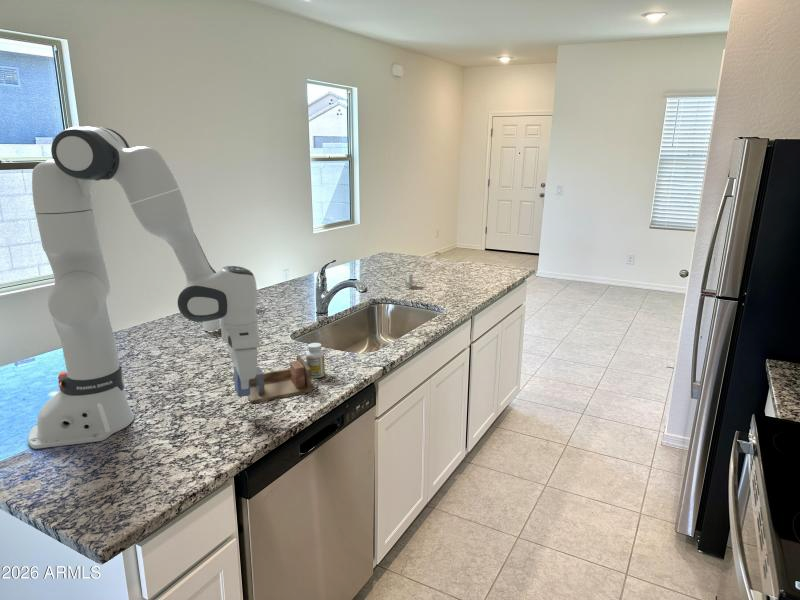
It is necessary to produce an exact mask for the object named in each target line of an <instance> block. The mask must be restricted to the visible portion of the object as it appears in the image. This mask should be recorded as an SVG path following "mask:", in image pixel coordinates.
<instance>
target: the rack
mask: <svg viewBox="0 0 800 600" xmlns="http://www.w3.org/2000/svg"><path fill="white" fill-rule="evenodd" d="M289 365H290V366H289V367H290V368H286V369H284V368H283V369H280V370H279V369H278V370H274V371H273V370H272V371H267V372H263V376H264V389H265V394H262V395H259V394H258V392H257V390H256V388H255V380H254V379H250V395H248V396H247V398H248V401H249V402H250V403H249V404H256V403H259V402H260V403H261V402H265V401H270V400H275V399H276V400H277V399H280V398H287V397H291V396H295V395H301V394H307V393H311V392H313V387H312V385H313V384H312V378H311V369H310V368H309V366H308V365H307V364H306V360H304V359H303V358H302V356H301V355H296V360H294V361H289Z"/></svg>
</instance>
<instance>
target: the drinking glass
mask: <svg viewBox="0 0 800 600" xmlns="http://www.w3.org/2000/svg"><path fill="white" fill-rule="evenodd" d="M202 326H203V331H204V330H205V331H215V330H218V329H220V330H221V319H216V320H211V321H205V322H202ZM205 331H204V332H205Z"/></svg>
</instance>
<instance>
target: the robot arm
mask: <svg viewBox="0 0 800 600" xmlns="http://www.w3.org/2000/svg"><path fill="white" fill-rule="evenodd" d="M128 143H129V142H127V140H126V139H125V138H124V137H123V136H122V135H121V134H120V133H118V132H117V131H115V130H113V129H111V128H107V127H101V126H97V125H85V126H71V127H68V128H65V129H63V130H62V131H60V132H59V133H57V135H56V136H55V138H54V139H53V140H52V143H51V148H50V150H51V151H50V152H51V157H52V159H51V158H50V159H46V160H43V161H42V162H39V163H38V164H36V165H35V166H34V168H33V169H32V172H31V179H32V180H31V185H32V187H31V190H32V201H33V206H34V212H35V218H36V223H37V226H38V231H39V236H40V241H41V246H42V249H43V252H45V255H46V257H47V261H48V263H49V264H50V268H51V271H52V274H53V277H54V284H53V286H52V287H51V289H50V291H49V293H48V297H47V307H48V311H49V314H50V315H51V317H52V321H53V325H54V328H55V330H56V333H57V336H58V338H59V341H60V345H61V348H62V352H63V357H64V364H65V369H66V371H60V372H59V373H58V376H57V379H58V389H59V391H58V392H57V393H56V394H54V396H53V397H51V398H50V399H49V400H48V401H46V402H45V403H44V404H43V406H42V407H41V408H40V410H39V412H38V416H37V422H36V424H35V425H33V427H31V429H30V431H29V433H28V437H27V438H28V440H27V441H28V442H27V443H28V445H29V446H30V447H31V448H32V449H35V450H36V449H44V448H45V449H46V448H52V447H62V446H68V445H69V446H70V445H77V444H78V445H80V444H87V443H95V442H96V443H97V442H101V441H105V440H106V439H108V438H109V437H111V435H113V434H115V433H117V432H119V431H121V430H124V429H125V428H127V427H128V426H129V425H130V424H131V423H132V422H133V421H134V419H135V414H134V412H133V411H132V409H131V406H130V404H129V402H128V401H129V400H128V399H127V396H126V393H125V378H124V371H123V369H122V366H121V365H120V364H119V363H120V362H119V356H118V350H117V343H116V336H115V334H114V332H113V328H112V323H111V321H110V316H109V311H108V298H109V296H110V293H111V286H110V280H109V275H108V271H107V267H106V263H105V260H104V256H103V253H102V249H101V246H100V241H99V236H98V230H97V225H96V219H95V213H94V207H93V202H92V198H91V186H92V185H93V183H94V182H95V181H96V182H97V181H101V180H103V181H104V180H105V181H106V180H107V181H109V180H114V181H115V182H117V183H118V184H119V185H120V186H121V188H122V189H123V192H124V193H125V196H126V198H127V199H128V202H129V204H130V207H131V209H132V211H133V213H134V215H135V217H136V219H137V220H138V222H139V223H140V225H141V226H142V227H143V228H144V230H145V231H146V232H148V233H150V234H151V235H154V236H155V237H158V238H160V239H162V240H163V241H165V242H166V243H167V244H168V245H169V246H170V248H171V249H172V250H173V253H174V254H175V256H176V258H177V260H178V263H179V264H180V266H181V268H182V270H183V272H184V275H185V277H186V285H185V286H184V288H183V289H182V291H180V293H179V295H178V298H177V307H178V311H179V313H181V315H182V316H183V317H184V318H185V319H187V320H189V321H190V322H193V323H194V322H195V323H203V322H205V321H211V320H216V319H220V330H221V331H220V332H221V340H222V341H223V342H225V343H226V344H227V350H228V355H229V357H230V360H231V361H232V364H233V367H235V368H236V370H237V373H238V375H239V377H240V380H241V381H240V386H241V389H248V387H249V379H254V378H255V377H256V373H257V367H258V348H260V345H261V344H260V336H259V316H258V314H257V307H258V288H257V281H256V278H255V277H256V276H255V275H254V273H253V272H252V271H251V270H249V269H247V268H245V267H243V266H235V265H226V266H223V267H222V268H221V269H220V270H218V271H215V269H214V268H213V267H212V266H211V264H210V263H209V261H208V258H207V256H206V254H205V253H204V250H203V248H202V246H201V244H200V242H199V240H198V238H197V236H196V233H195V231H194V227H193V225H192V222H191V219H190V215H189V213H188V208H187V205H186V203H185V202H186V201H185V200H184V196H183V195H182V192H181V189H180V187H179V185H178V183H177V181H176V179H175V177H174V174H173V173H172V171H171V169H170V167H169V166H168V164H167V162H166V161H165V159H164V158H163V156H162V155H161V154H160V152H159V151H158V150H157V149H155V148H152V147H150V146H145V145H144V146H143V145H142V146H141V145H139V146H134V147H130V145H129V144H128Z"/></svg>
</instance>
